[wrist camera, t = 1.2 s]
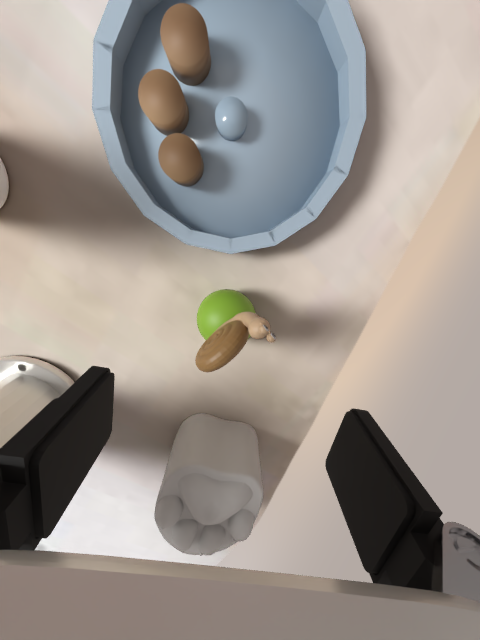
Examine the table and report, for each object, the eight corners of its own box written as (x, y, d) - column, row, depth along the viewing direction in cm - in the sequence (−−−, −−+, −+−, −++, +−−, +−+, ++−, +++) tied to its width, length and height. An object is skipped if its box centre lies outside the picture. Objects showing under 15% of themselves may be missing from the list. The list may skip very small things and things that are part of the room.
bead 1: (207, 90, 19) (203, 70, 17) (167, 79, 19) (158, 58, 16) (214, 40, 18) (211, 11, 16) (172, 27, 18) (163, -4, 15)
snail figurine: (272, 306, 26) (301, 364, 15) (225, 344, 27) (219, 425, 16) (237, 265, 24) (239, 296, 13) (189, 308, 26) (155, 369, 14)
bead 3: (200, 190, 21) (196, 185, 19) (164, 181, 21) (156, 175, 19) (206, 149, 20) (203, 139, 18) (169, 140, 20) (160, 128, 18)
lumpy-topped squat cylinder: (266, 427, 31) (277, 497, 23) (235, 499, 35) (235, 580, 27) (183, 407, 30) (164, 474, 22) (161, 484, 34) (138, 565, 26)
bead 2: (186, 140, 20) (179, 128, 18) (148, 130, 20) (136, 117, 17) (191, 94, 19) (185, 75, 17) (151, 84, 19) (140, 63, 16)
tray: (308, 268, 25) (317, 272, 22) (106, 224, 23) (90, 223, 20) (386, 9, 18) (411, -28, 16) (118, -79, 17) (96, -137, 14)
